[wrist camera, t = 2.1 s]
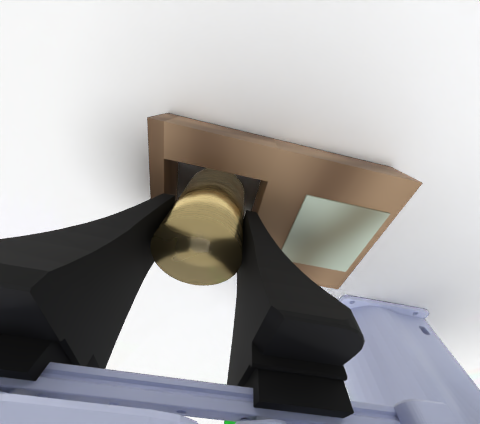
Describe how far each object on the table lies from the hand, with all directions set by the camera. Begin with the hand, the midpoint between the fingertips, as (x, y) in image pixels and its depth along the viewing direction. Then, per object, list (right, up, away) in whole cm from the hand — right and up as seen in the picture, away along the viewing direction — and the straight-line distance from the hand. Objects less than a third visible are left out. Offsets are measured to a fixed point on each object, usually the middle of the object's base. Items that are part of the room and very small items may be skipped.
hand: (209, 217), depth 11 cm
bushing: (0, +2, +2) cm, 3 cm away
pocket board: (+4, +1, +3) cm, 5 cm away
